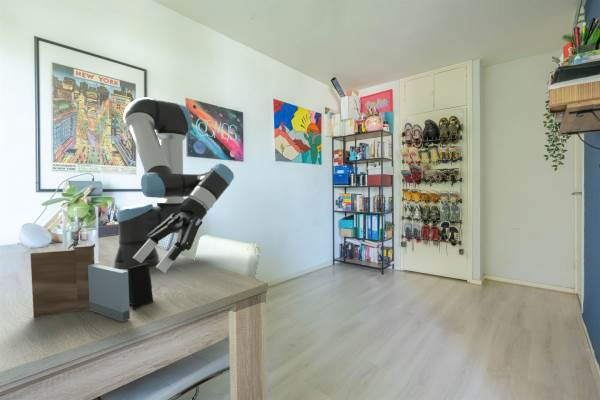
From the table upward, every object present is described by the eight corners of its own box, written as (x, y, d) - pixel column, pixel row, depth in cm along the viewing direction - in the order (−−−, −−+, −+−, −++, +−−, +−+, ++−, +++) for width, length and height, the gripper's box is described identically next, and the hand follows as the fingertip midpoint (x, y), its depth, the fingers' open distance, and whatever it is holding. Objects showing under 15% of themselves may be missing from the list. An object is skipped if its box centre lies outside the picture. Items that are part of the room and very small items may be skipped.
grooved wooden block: (39, 312, 67) (35, 247, 66) (97, 304, 72) (95, 243, 71) (32, 318, 64) (28, 250, 63) (93, 309, 69) (91, 246, 68)
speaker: (158, 302, 72) (153, 262, 72) (133, 310, 68) (128, 268, 68) (149, 297, 78) (145, 260, 77) (125, 304, 74) (121, 265, 73)
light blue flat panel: (89, 309, 68) (87, 265, 67) (96, 307, 69) (94, 263, 69) (122, 321, 62) (121, 273, 61) (129, 318, 63) (128, 271, 63)
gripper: (230, 215, 79) (182, 282, 69) (184, 210, 95) (138, 263, 84) (214, 198, 75) (160, 266, 64) (168, 195, 90) (118, 249, 79)
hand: (147, 265), depth 74 cm, fingers open, 13 cm apart
